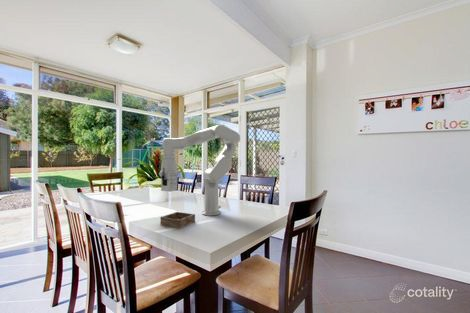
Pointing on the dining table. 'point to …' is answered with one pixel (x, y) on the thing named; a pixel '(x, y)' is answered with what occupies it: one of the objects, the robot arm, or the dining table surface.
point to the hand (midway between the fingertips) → (169, 184)
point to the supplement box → (170, 182)
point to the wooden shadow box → (177, 219)
